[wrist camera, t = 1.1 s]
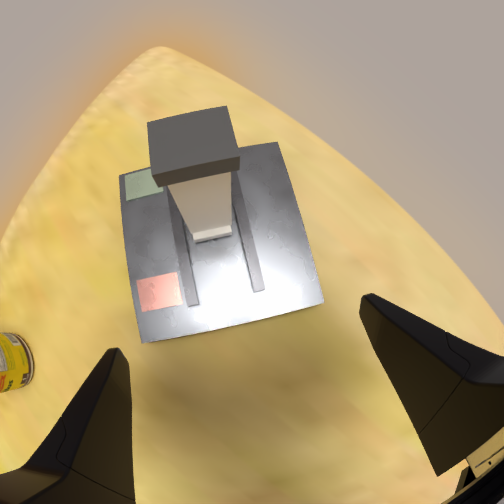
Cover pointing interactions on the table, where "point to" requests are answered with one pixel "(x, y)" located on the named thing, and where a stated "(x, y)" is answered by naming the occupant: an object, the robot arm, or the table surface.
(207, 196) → the handle
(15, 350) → the supplement bottle
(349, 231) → the table surface
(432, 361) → the robot arm
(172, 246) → the box
